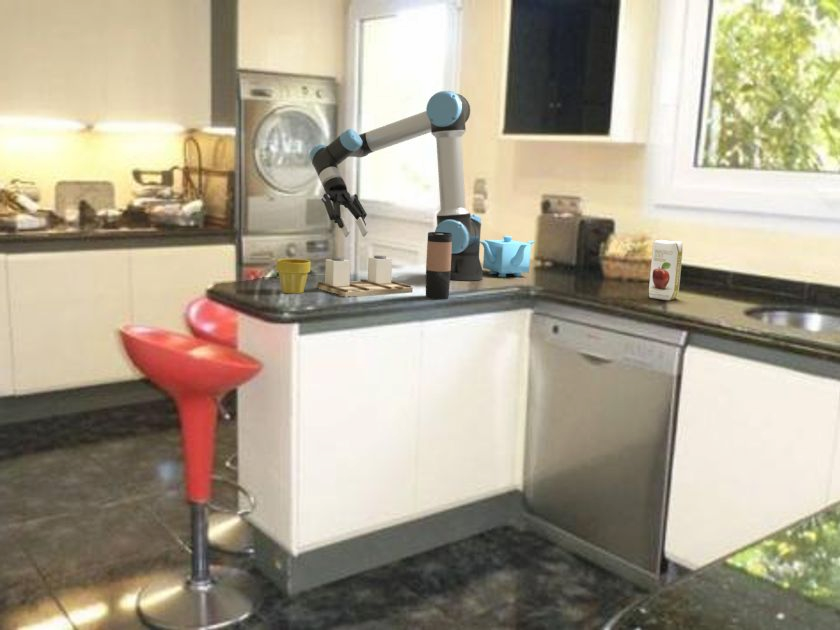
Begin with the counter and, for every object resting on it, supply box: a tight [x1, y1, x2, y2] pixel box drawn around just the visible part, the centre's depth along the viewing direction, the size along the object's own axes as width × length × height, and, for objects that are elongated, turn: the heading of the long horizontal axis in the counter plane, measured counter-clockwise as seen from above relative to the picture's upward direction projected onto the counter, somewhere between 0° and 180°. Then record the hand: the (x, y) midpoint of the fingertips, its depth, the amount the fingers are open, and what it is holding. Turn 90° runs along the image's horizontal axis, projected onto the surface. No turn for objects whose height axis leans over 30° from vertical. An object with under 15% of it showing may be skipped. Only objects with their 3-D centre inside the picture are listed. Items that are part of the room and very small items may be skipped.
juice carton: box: [648, 239, 684, 301], centre depth 275 cm, size 8×9×19 cm
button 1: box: [324, 256, 351, 287], centre depth 264 cm, size 5×6×9 cm
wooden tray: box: [315, 278, 414, 298], centre depth 267 cm, size 18×25×2 cm
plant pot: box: [276, 258, 311, 294], centre depth 258 cm, size 10×10×10 cm
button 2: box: [367, 255, 393, 284], centre depth 274 cm, size 5×6×9 cm
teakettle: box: [480, 235, 537, 278], centre depth 314 cm, size 19×19×15 cm
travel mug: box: [425, 231, 452, 300], centre depth 258 cm, size 8×8×20 cm
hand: (356, 234), depth 284 cm, fingers open, 6 cm apart
